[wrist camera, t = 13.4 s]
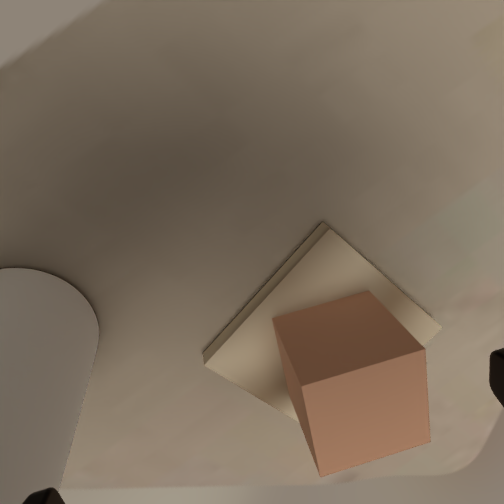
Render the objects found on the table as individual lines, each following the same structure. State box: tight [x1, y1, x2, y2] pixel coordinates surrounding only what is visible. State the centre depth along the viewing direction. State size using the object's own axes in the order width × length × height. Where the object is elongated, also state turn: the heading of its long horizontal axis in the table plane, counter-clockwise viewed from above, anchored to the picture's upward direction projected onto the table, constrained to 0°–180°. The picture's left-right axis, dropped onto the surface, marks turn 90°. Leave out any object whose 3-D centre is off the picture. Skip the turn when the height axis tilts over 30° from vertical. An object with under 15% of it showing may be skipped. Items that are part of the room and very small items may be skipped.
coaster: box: [203, 222, 442, 423], centre depth 22 cm, size 9×9×1 cm
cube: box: [272, 291, 431, 477], centre depth 19 cm, size 5×5×5 cm
